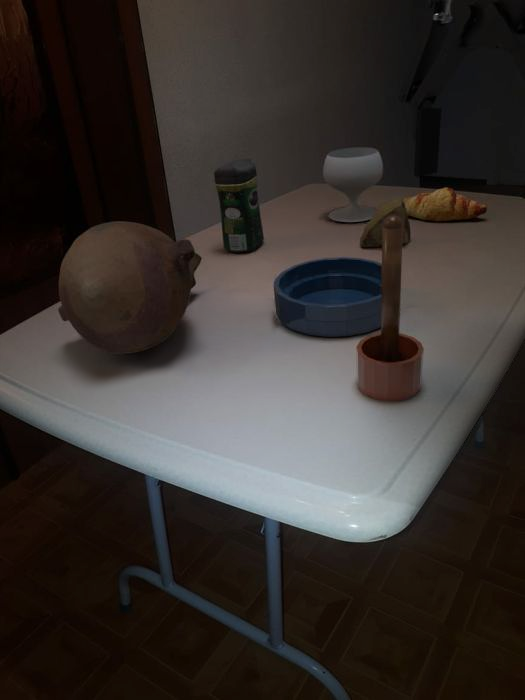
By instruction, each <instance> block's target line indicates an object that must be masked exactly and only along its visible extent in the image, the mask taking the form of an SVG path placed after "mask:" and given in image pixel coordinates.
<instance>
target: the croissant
mask: <svg viewBox="0 0 525 700" xmlns="http://www.w3.org/2000/svg"><path fill="white" fill-rule="evenodd" d="M403 201H404V204H405V208H406V211H407V216H408V217H412V218H415V219H418V220H423V221H430V222H431V221H432V222H446V221H465V220H470V219H471V220H472V219H475V218H478V217H480V216H481V215H484V214H486V213H487V210H488V206H487V205H486V204H480V203H479V202H478V201H476V200H473V199H471V200H469V199H468V198H466V196H465V195H462V194H460V193H459V194H458V193H457V192H456V191H455V190H454V189H453V188H450V187H448V186H447V187H442V188H438V189H437V190H435V191H434V192H422V193H419V194H417V195H416V196H410V197H406V198H405V199H403Z"/></svg>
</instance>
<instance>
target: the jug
mask: <svg viewBox="0 0 525 700" xmlns="http://www.w3.org/2000/svg"><path fill="white" fill-rule="evenodd" d="M202 259H203V257H201V255H200V254H198V253H197V252H195V247H194V245H193V244H192V241H191V240H190V239H186V238H185V239H180V240H177V241H176V240H175V241H174V240H173V239H172V238H171V237H170V236H169V235H167V234H166V233H164V232H162V231H160V230H159V229H157V228H154V227H151V226H149V225H146V224H143V223H140V222H135V221H125V220H124V221H121V220H118V221H108V222H103V223H100V224H96V225H94V226H92V227H90V228H88V229H87V230H86V231H84V232H83V233H81V234H80V235H79V236H77V238H75V240H74V241H73V242H72V244H71V246H70V247H69V249H68V250H67V251H66V253H65V255H64V257H63V259H62V262H61V265H60V269H59V277H58V295H59V296H58V297H59V301H60V304H61V306H59V307H58V309H57V311H58V314H59V316H60V318H61V321H63V322H68V321H69V323H70V324H71V327H73V329H74V330H75V331H76V333H77V334H78V335H79V336H80V337H81V338H82V339H83V340H85V341H86V342H88V343H89V344H91V345H92V346H93V347H95V348H98V349H100V350H102V351H104V352H107V353H110V354H133V353H139V352H144V351H147V350H150V349H152V348H154V347H156V346H157V345H160V343H162V342H164V341H165V340H167V338H169V337H170V336H171V335H172V334H173V333H174V331H175V330H176V328H177V327H178V325H179V323H180V322H181V321H182V319H183V317H184V315H185V313H186V311H187V309H188V305H189V302H190V298H191V292H192V289H193V288H194V287H195V286H196V285H197V280H196V278H195V272H196V271H197V270H198V267H199V266H200V265H201V261H202Z"/></svg>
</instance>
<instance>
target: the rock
mask: <svg viewBox="0 0 525 700" xmlns="http://www.w3.org/2000/svg"><path fill="white" fill-rule="evenodd" d="M403 200H404V199H403V198H400V199H399V198H392V199H389V200H388V201H385V202H384V203H382V204H380V205H379V206H378V207H377V209H376V210H377V211H376V213H375V214H374V215H373V217H372V219H369V221H368V222H367V223H366V224H365V226H364V229H363V232H362V234H361V236H360V241H359V245H360V247H361V248H375V247H377V248H378V247H382V225H383V222H384V220H385V219H386V218H387V217H389V216H398V217H399V218H400V219H401V220H402V223H403V238H402V245H406V244H408V243H409V242H411V238H412V237H411V224H410V221H409V216H408V215H407V211H406V208H405V204H404V201H403Z"/></svg>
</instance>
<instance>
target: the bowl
mask: <svg viewBox="0 0 525 700" xmlns="http://www.w3.org/2000/svg"><path fill="white" fill-rule="evenodd" d="M381 286H382V262H379V261H376V260H373V259H372V260H371V259H366V258H361V257H347V256H341V257H340V256H339V257H338V256H337V257H325V258H319V259H311V260H307V261H304V262H301V263H298V264H295V265H292V266H290V267H288V268H287V269H285V270H283V271H281V272H280V273H279V274H278V275H277V276H276V277H275V278H274V283H273V295H274V306H275V307H274V308H275V315H276V316H277V319H278V320H279V322H280V323H281V324H282V325H284V326H285V327H286V328H289V329H290V330H293V331H295V332H298V333H301V334H304V335H308V336H317V337H324V338H328V337H331V338H332V337H333V338H334V337H335V338H336V337H350V336H351V337H352V336H357V335H362V334H367V333H370V332H372V331H375V330H377V329H379V328H380V329H381Z"/></svg>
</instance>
